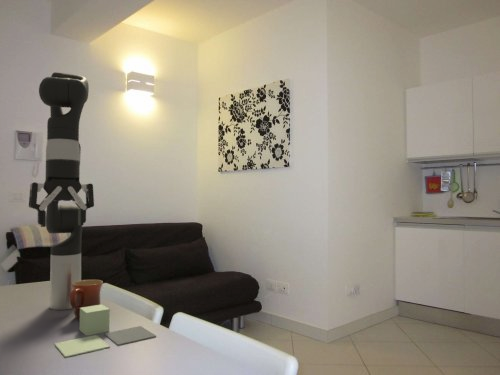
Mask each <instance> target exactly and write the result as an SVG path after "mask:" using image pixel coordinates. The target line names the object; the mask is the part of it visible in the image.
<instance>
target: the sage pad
mask: <svg viewBox="0 0 500 375" xmlns="http://www.w3.org/2000/svg"><path fill="white" fill-rule="evenodd" d="M54 346H55V347H56V348H57V349H58V350H59V352H60V353H61V354H62V355H63V357H64V358H70V357H74V356H79V355H83V354H86V353H92V352H95V351H100V350H104V349H110V348H111V346H110V345H109V344H108V343H107V342H105V341H104V340H103V339H102V338H101V337H100V336H98V335H97V334H93V335H88V336H86V337H85V336H84V337H81V338H80V337H79V338H75V339H70V340H66V341H65V340H64V341H61V342H56V343H54Z"/></svg>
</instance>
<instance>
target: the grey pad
mask: <svg viewBox="0 0 500 375" xmlns="http://www.w3.org/2000/svg"><path fill="white" fill-rule="evenodd" d="M103 334H104V336H105V337H106V338H108V339H109V340H110V341H111V342H113V343H114V344H115V345H116V346H123V345H126V344H131V343H135V342H139V341H140V342H141V341H144V340H149V339H152V338H153V339H154V338H156V337H157V334H155V333H152V332H151V331H150V330H148V329H147V328H144V327H143V326H141V325H138V326H134V327H129V328H128V327H127V328H123V329H120V330H114V331H108V332H103Z"/></svg>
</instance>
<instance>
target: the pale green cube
mask: <svg viewBox="0 0 500 375" xmlns="http://www.w3.org/2000/svg"><path fill="white" fill-rule="evenodd" d="M110 314H111V313H110V308H109V307H108V306H105V305H104V304H102V303H100V305H95V306H88V307H82V308H80V319H79V331H80V332H81V333H83V334H84V335H85V336H86V337H89V336H94V335H97V334H104V333H108V332H110ZM107 331H108V332H107Z"/></svg>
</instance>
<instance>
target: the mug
mask: <svg viewBox="0 0 500 375" xmlns="http://www.w3.org/2000/svg"><path fill="white" fill-rule="evenodd" d="M103 283H104V281H103V280H101V279H81V281H76V282H73V283H72V287H73V290H72V291H71V293H70V304H71V306H72V309H73V314H74V317H75V318H76V319H78V320H80V308H82V307H88V306H95V305H101V291H102V287H103Z"/></svg>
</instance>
